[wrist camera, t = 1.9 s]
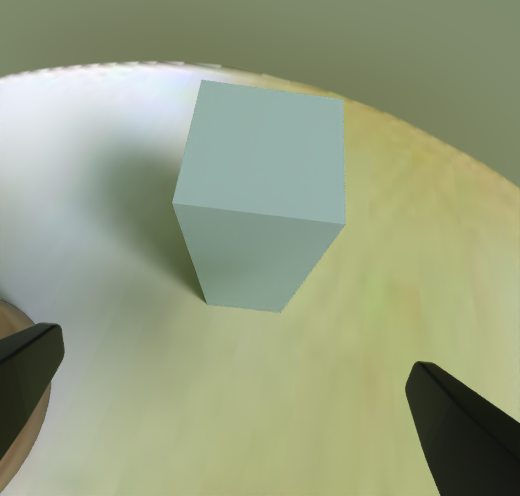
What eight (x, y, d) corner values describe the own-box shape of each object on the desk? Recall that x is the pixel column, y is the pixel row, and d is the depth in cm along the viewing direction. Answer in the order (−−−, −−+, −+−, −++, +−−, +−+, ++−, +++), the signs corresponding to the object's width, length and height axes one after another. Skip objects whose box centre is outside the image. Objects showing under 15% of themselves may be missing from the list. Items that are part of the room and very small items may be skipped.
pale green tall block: (285, 245, 23) (343, 99, 11) (280, 312, 21) (345, 224, 9) (218, 237, 23) (201, 79, 11) (207, 304, 21) (172, 203, 9)
